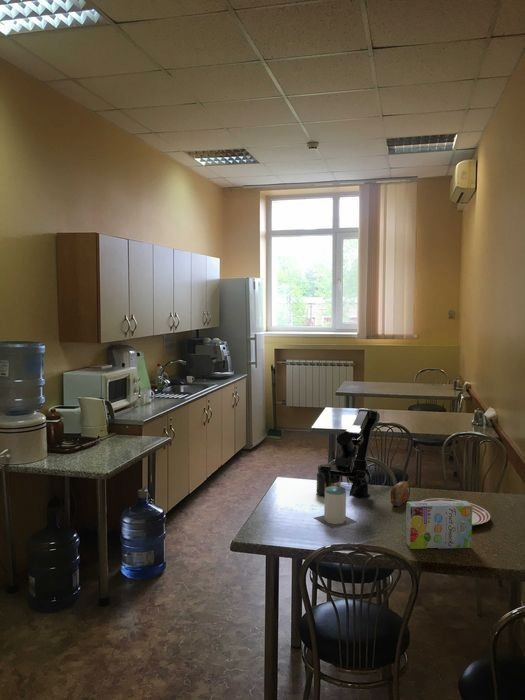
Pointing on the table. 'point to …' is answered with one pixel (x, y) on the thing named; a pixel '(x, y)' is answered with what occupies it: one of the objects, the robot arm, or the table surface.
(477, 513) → the dinner plate
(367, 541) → the table surface
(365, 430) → the robot arm
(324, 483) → the supplement container
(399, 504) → the tin
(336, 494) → the white canister
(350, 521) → the mat
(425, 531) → the snack box
